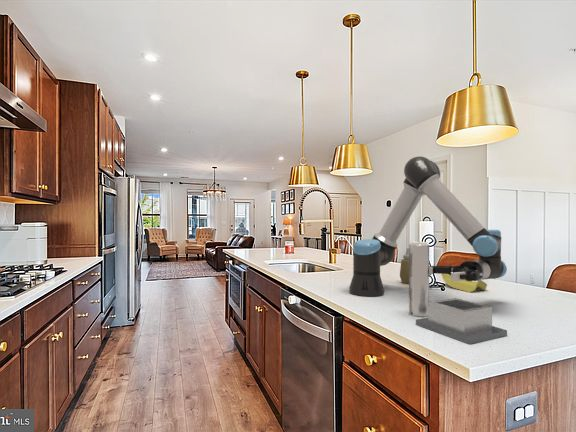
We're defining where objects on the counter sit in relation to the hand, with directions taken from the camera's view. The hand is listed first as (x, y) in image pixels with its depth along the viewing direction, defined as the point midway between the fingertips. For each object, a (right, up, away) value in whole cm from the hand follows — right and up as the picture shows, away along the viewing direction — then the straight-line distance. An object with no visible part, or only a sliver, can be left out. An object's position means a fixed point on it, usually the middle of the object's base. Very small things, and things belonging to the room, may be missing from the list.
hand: (434, 274), depth 117 cm
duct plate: (-1, -13, -19) cm, 23 cm away
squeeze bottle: (+10, -14, +54) cm, 57 cm away
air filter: (-7, -14, -3) cm, 15 cm away
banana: (+33, -15, +43) cm, 56 cm away
